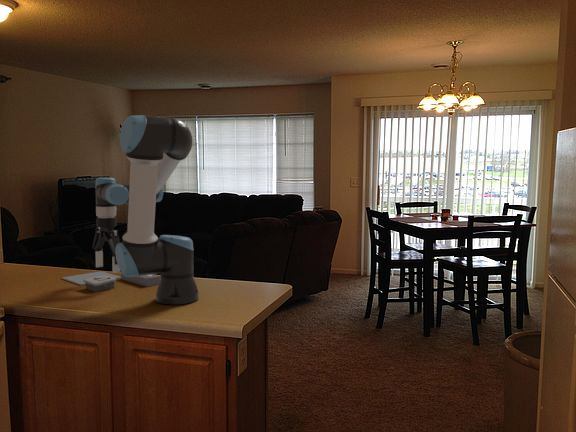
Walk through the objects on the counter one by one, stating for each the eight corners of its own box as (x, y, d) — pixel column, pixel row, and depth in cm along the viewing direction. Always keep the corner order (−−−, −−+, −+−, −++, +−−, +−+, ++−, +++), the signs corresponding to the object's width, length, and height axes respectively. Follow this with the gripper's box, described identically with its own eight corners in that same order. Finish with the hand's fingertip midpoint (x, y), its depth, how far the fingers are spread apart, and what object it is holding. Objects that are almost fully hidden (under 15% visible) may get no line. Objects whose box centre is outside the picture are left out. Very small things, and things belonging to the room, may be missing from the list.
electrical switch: (117, 278, 199) (96, 279, 192) (116, 291, 199) (94, 293, 192) (104, 274, 205) (83, 275, 197) (102, 287, 205) (81, 288, 198)
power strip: (159, 284, 206) (159, 274, 205) (146, 287, 201) (146, 277, 201) (133, 277, 219) (133, 267, 219) (121, 279, 215) (120, 269, 214)
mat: (122, 278, 216) (122, 277, 216) (81, 285, 203) (81, 284, 203) (101, 272, 228) (101, 271, 228) (61, 278, 215) (61, 277, 215)
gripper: (131, 219, 194) (132, 273, 196) (100, 213, 211) (101, 263, 213) (113, 220, 188) (114, 276, 191) (82, 214, 205) (84, 266, 207)
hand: (107, 269), depth 202 cm, fingers open, 13 cm apart
